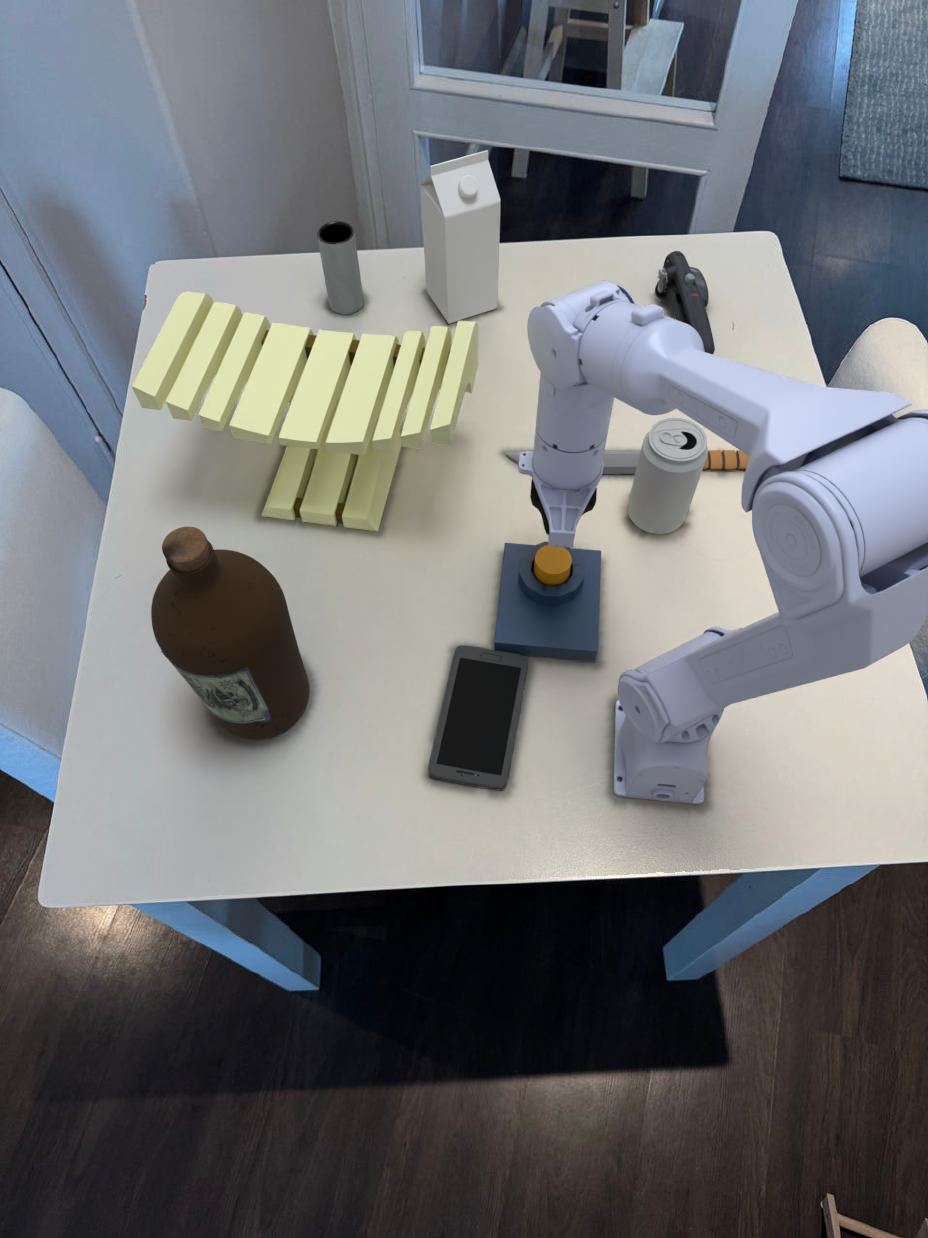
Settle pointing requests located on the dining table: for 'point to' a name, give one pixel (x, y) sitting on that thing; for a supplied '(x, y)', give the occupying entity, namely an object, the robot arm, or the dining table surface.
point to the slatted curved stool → (312, 399)
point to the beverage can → (667, 475)
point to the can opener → (686, 295)
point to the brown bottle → (229, 636)
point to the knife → (629, 458)
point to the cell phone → (479, 717)
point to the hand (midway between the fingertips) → (557, 529)
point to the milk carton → (461, 236)
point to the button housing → (549, 606)
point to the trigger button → (552, 565)
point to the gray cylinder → (340, 267)
